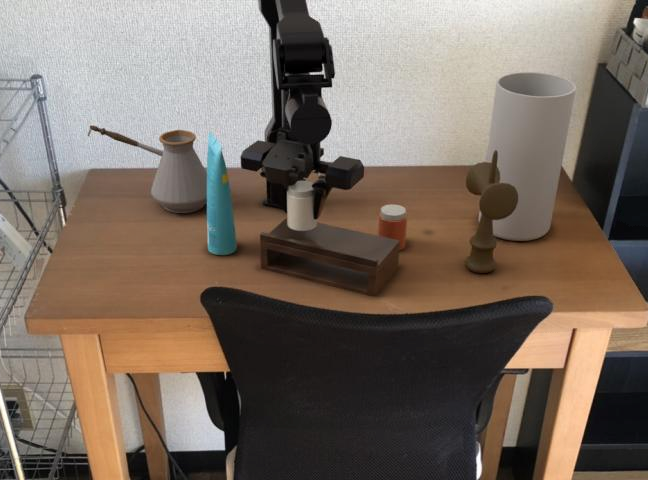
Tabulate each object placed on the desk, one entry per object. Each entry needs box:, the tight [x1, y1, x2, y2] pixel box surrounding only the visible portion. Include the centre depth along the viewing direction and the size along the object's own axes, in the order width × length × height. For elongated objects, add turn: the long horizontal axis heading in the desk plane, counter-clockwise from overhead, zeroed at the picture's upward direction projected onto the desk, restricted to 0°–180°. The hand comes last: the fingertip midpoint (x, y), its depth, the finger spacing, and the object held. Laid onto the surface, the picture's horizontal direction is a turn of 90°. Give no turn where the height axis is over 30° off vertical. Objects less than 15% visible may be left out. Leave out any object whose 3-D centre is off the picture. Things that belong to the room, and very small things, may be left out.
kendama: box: [464, 150, 518, 274], centre depth 132 cm, size 6×10×20 cm, turn 8°
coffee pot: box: [87, 124, 207, 214], centre depth 152 cm, size 21×12×15 cm, turn 91°
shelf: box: [259, 217, 400, 297], centre depth 136 cm, size 20×10×6 cm, turn 64°
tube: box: [206, 130, 238, 256], centre depth 137 cm, size 7×5×19 cm, turn 26°
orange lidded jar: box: [377, 204, 408, 251], centre depth 142 cm, size 5×5×6 cm
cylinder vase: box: [478, 71, 577, 242], centre depth 143 cm, size 12×12×25 cm
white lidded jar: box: [286, 180, 318, 231], centre depth 133 cm, size 5×5×6 cm
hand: (302, 215), depth 135 cm, fingers closed on white lidded jar, 5 cm apart
